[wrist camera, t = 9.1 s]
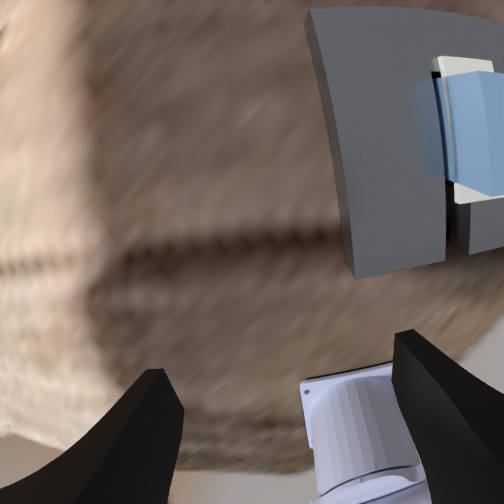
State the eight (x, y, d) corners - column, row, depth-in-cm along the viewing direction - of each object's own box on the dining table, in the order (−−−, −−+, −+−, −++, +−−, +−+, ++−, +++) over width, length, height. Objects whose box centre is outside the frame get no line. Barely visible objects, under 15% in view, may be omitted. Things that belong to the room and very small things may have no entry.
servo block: (476, 185, 17) (536, 211, 11) (433, 191, 17) (490, 220, 12) (463, 66, 14) (524, 56, 8) (416, 64, 14) (473, 46, 9)
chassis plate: (532, 222, 17) (552, 233, 15) (345, 260, 19) (355, 279, 17) (516, 37, 12) (537, 32, 10) (303, 23, 14) (309, 8, 12)
